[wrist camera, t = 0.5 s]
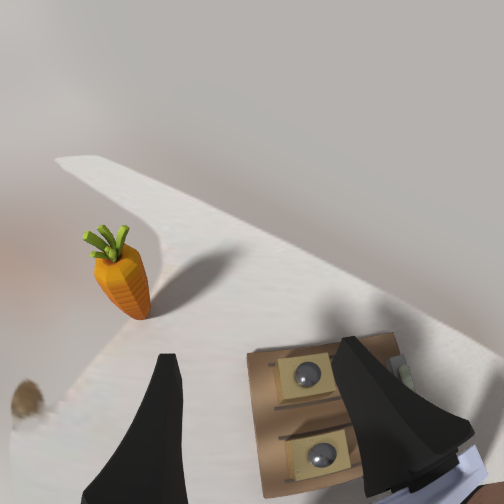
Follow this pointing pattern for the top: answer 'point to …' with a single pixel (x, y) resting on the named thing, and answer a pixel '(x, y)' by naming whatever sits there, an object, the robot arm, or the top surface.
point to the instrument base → (307, 415)
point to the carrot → (120, 272)
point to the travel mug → (486, 494)
